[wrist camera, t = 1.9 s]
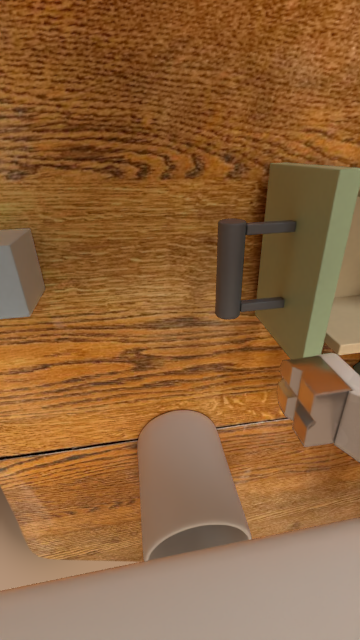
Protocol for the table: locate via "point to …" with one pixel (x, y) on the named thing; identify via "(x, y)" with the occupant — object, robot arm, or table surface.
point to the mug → (186, 487)
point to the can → (357, 368)
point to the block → (19, 274)
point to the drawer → (300, 260)
